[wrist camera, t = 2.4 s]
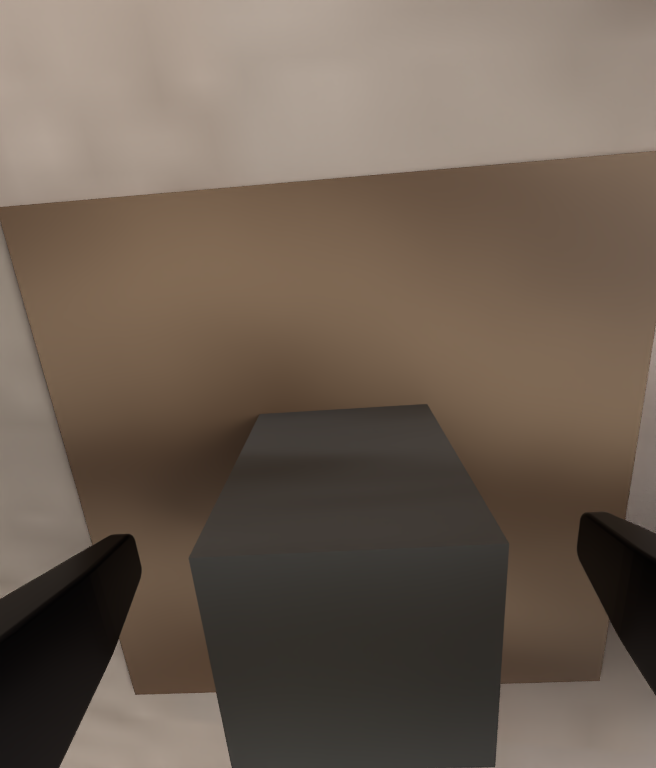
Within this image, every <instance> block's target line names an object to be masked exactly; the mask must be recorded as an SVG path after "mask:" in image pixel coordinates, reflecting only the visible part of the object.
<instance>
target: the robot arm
mask: <svg viewBox="0 0 656 768" xmlns="http://www.w3.org/2000/svg"><path fill="white" fill-rule="evenodd" d="M577 555H578V558H579V561H580V563H581V565H582V567H583V569H584V571H585V573H586V575H587V577H588V579H589V581H590V582H591V584H592V586H593V588H594V590H595V592H596V594H597V596H598V598H599V600H600V602H601V604H602V606H603V608H604V610H605V612H606V614H607V616H608V618H609V620H610V622H611V623H612V625H613V627H614V629H615V631H616V633H617V634H618V636H619V638H620V640H621V641H622V643H623V645H624V646H625V648H626V650H627V651H628V653H629V654H630V656H631V657H632V659H633V661H634V662H635V664H636V665H637V667H638V668H639V670H640V672H641V673H642V675H643V676H644V678H645V679H646V681H647V683H648V684H649V686H650V687H651V689H652V690H653V692H654V694H655V695H656V533H654V532H651V531H649V530H647V529H645V528H642V527H640V526H638V525H635V524H633V523H631V522H629V521H626V520H624V519H622V518H619V517H617V516H615V515H613V514H610V513H608V512H604V511H601V512H585V513H584V514H582V516H581V518H580V523H579V532H578V540H577ZM141 574H142V566H141V562H140V558H139V553H138V549H137V545H136V541H135V538H134V537H133V535H131V534H112V535H109V536H108V537H106V538H104V539H102V540H101V541H99V542H97V543H96V544H94V545H92V546H90V547H89V548H87V549H85V550H84V551H82V552H80V553H78V554H77V555H75V556H73V557H72V558H70V559H68V560H66V561H65V562H63V563H61V564H60V565H58V566H56V567H54V568H53V569H51V570H49V571H48V572H46V573H44V574H42V575H41V576H39V577H37V578H36V579H34V580H32V581H30V582H29V583H27V584H25V585H24V586H22V587H20V588H18V589H17V590H15V591H13V592H11V593H10V594H8V595H6V596H5V597H3V598H1V599H0V768H59V767H60V765H61V763H62V761H63V759H64V756H65V754H66V752H67V750H68V748H69V746H70V744H71V742H72V740H73V737H74V735H75V733H76V731H77V729H78V727H79V725H80V723H81V721H82V719H83V716H84V714H85V712H86V710H87V708H88V706H89V704H90V702H91V700H92V697H93V695H94V693H95V691H96V689H97V687H98V685H99V683H100V681H101V679H102V676H103V674H104V672H105V670H106V668H107V666H108V664H109V661H110V659H111V657H112V655H113V652H114V650H115V647H116V645H117V642H118V639H119V637H120V634H121V631H122V628H123V626H124V623H125V620H126V618H127V615H128V612H129V609H130V607H131V604H132V601H133V598H134V596H135V593H136V590H137V587H138V585H139V582H140V579H141Z"/></svg>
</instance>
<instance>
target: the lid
mask: <svg viewBox="0 0 656 768" xmlns="http://www.w3.org/2000/svg"><path fill="white" fill-rule="evenodd" d="M0 221H1V225H2V228H3V232H4V235H5V239H6V242H7V246H8V249H9V253H10V256H11V260H12V263H13V267H14V270H15V274H16V277H17V281H18V284H19V288H20V291H21V295H22V298H23V302H24V305H25V309H26V312H27V316H28V319H29V323H30V326H31V330H32V334H33V337H34V341H35V344H36V348H37V351H38V355H39V358H40V362H41V365H42V369H43V372H44V376H45V379H46V383H47V386H48V390H49V393H50V397H51V400H52V404H53V407H54V411H55V414H56V418H57V421H58V425H59V428H60V432H61V435H62V439H63V442H64V446H65V449H66V453H67V456H68V460H69V463H70V467H71V470H72V474H73V477H74V481H75V484H76V488H77V491H78V495H79V499H80V502H81V506H82V509H83V513H84V516H85V520H86V523H87V527H88V530H89V534H90V537H91V541H92V544H93V545H94V544H96V543H97V542H99V541H101V540H102V539H104V538H106V537H108V536H109V535H112V534H131V535H133V537H134V538H135V541H136V545H137V549H138V553H139V558H140V562H141V566H142V574H141V579H140V582H139V585H138V587H137V590H136V593H135V596H134V598H133V601H132V604H131V607H130V609H129V612H128V615H127V618H126V620H125V623H124V626H123V628H122V631H121V634H120V637H119V639H120V642H121V646H122V649H123V653H124V656H125V660H126V663H127V667H128V671H129V674H130V678H131V681H132V685H133V688H134V692H135V695H139V694H173V693H206V692H216V693H217V698H218V703H219V708H220V713H221V718H222V722H223V727H224V732H225V737H226V742H227V747H228V751H229V756H230V761H231V766H232V768H475V767H495V761H496V745H497V729H498V714H499V698H500V684H507V683H541V682H574V681H600V676H601V669H602V663H603V657H604V650H605V644H606V638H607V631H608V625H609V618H608V616H607V614H606V612H605V610H604V608H603V606H602V604H601V602H600V600H599V598H598V596H597V594H596V592H595V590H594V588H593V586H592V584H591V582H590V581H589V579H588V577H587V575H586V573H585V571H584V569H583V567H582V565H581V563H580V561H579V558H578V555H577V540H578V532H579V523H580V518H581V516H582V514H584V513H585V512H601V511H604V512H608V513H610V514H613V515H615V516H617V517H619V518H622V519H624V520H625V517H626V510H627V504H628V498H629V491H630V485H631V479H632V472H633V466H634V460H635V453H636V447H637V440H638V434H639V428H640V421H641V415H642V409H643V402H644V396H645V390H646V383H647V377H648V371H649V364H650V358H651V351H652V345H653V339H654V332H655V326H656V151H649V152H638V153H626V154H614V155H603V156H591V157H579V158H568V159H556V160H545V161H533V162H521V163H510V164H498V165H486V166H475V167H463V168H451V169H440V170H428V171H416V172H405V173H393V174H381V175H370V176H358V177H347V178H335V179H323V180H312V181H300V182H288V183H277V184H265V185H253V186H242V187H230V188H218V189H207V190H195V191H183V192H172V193H160V194H149V195H137V196H125V197H114V198H102V199H90V200H79V201H67V202H55V203H44V204H32V205H20V206H9V207H0Z"/></svg>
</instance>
